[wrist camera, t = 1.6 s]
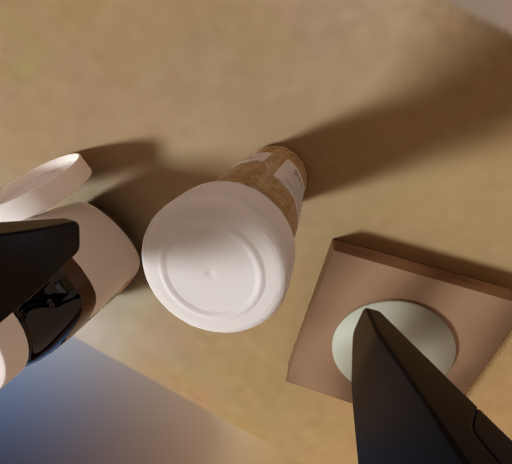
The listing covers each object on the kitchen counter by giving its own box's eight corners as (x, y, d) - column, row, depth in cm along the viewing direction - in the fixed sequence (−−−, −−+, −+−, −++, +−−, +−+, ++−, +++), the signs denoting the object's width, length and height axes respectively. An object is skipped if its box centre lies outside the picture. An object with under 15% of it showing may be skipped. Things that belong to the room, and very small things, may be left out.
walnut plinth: (508, 288, 21) (530, 308, 18) (430, 408, 25) (439, 435, 23) (332, 238, 22) (333, 252, 20) (288, 362, 26) (285, 384, 24)
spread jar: (99, 310, 29) (-32, 427, 18) (5, 219, 27) (-201, 289, 16) (182, 238, 24) (73, 337, 13) (75, 123, 22) (-146, 133, 12)
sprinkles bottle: (247, 139, 20) (135, 179, 8) (315, 152, 20) (306, 215, 8) (238, 204, 22) (134, 318, 10) (300, 217, 22) (273, 356, 9)
